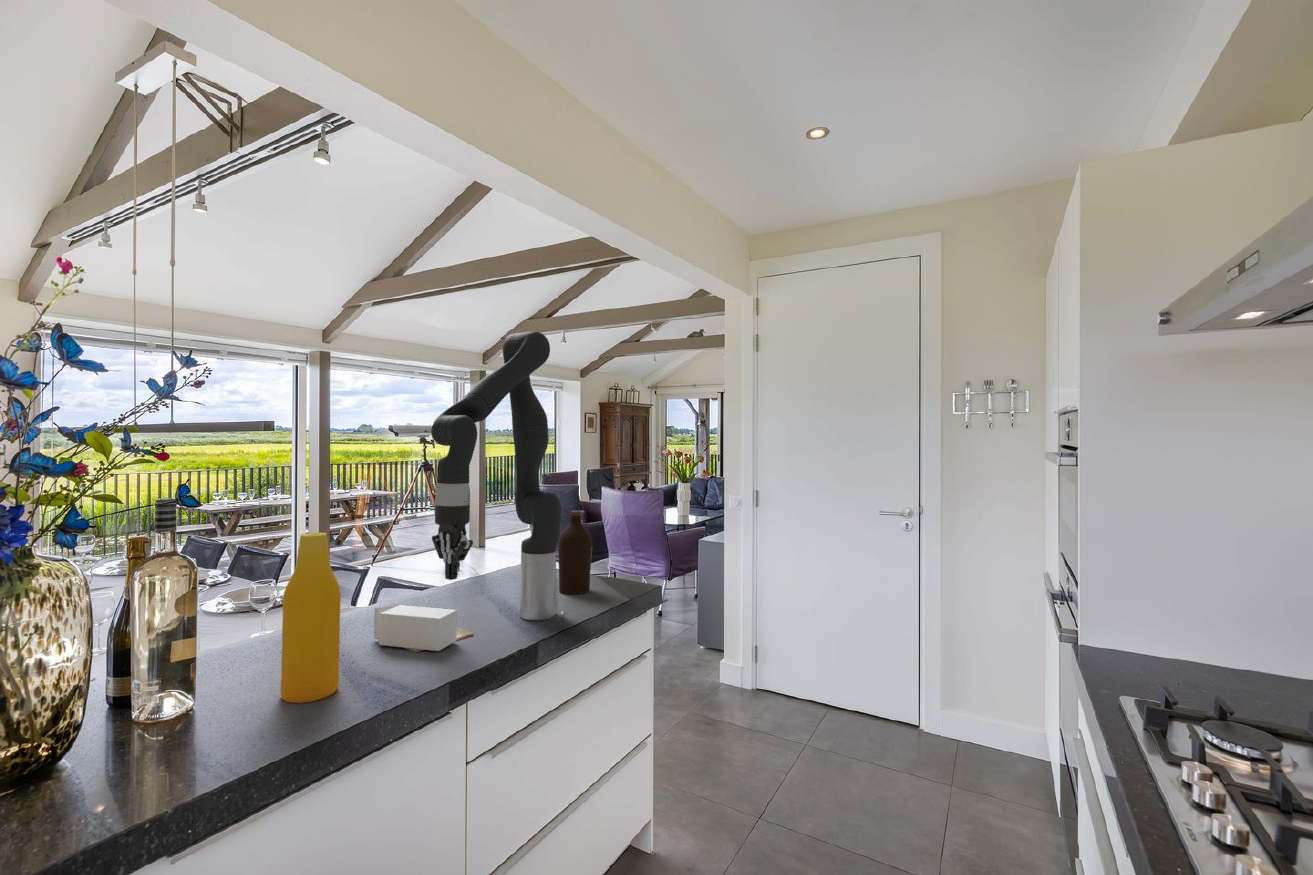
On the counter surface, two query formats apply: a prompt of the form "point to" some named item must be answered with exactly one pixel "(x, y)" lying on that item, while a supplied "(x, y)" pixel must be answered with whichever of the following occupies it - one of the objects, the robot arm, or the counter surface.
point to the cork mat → (460, 635)
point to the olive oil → (574, 557)
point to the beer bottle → (311, 625)
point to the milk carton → (415, 627)
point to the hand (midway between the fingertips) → (451, 578)
